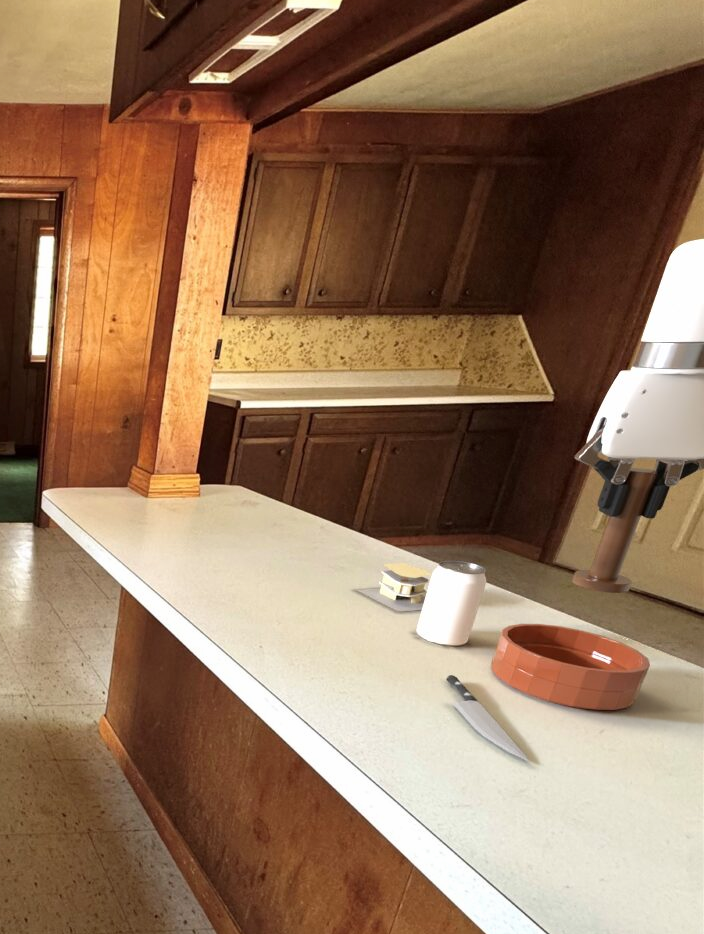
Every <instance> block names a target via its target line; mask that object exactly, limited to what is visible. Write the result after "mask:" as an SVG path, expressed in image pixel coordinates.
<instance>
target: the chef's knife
mask: <svg viewBox="0 0 704 934" xmlns="http://www.w3.org/2000/svg"><path fill="white" fill-rule="evenodd" d="M445 680H446V681H447V682H448V684H450V685H452V686H453V687H454V688H455V689H456V690H457V691H458V692H459V693H460V695H461V696H462V698H463V699H464V700H462V701H454V702H451V704H452V705H453V706H454V707H455V708H456V709H457V711H458V712H459V713H460V715H462V716H463V718H465V720H466V721H467V722H468V723H469V724H470V726H471V727H472V728H473V729H474V730H475V731H476V732H478V733H479V734H480V735H481V736H483V738H485V739H487V740H489V741H490V742H492V743H493V744H495V745H496V746H498V747H500V748H501V749H503V750H504V751H506V752H507V753H510V754H511V755H514V756H515V757H518V758H520V759H522V760H525V761H526V762H527V761H528V762H530V760H529V759H528V758H527V756H526V755H525V754H524V752H523V751H522V750H521V749H520V748H519V746H518V745H517V744H516V743H515V742H514V740H512V738H511V737H510V736H509V735H508V734H507V733H506V731H505V730H504V729H503V728H502V727H501V726H500V725H499V723H498V722H497V721H496V720H495V718H493V716H492V715H491V714H490V713H489V712H488V711H487V709H486V708H485V707H484V706H483V705H482V704H481V703H480V702H479V700H478V699H477V698H476V697H475V696H474V695H473V694H472V692H470V691H469V690H468V688H467V687H466V686H465V685H464V684H463V683H462V682H461V681H460V680H459V678H458V677H457V676H455V675H453V674H451V675H448V676H447V677H446V678H445Z"/></svg>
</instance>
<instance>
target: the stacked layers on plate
mask: <svg viewBox="0 0 704 934" xmlns="http://www.w3.org/2000/svg"><path fill="white" fill-rule="evenodd" d="M383 565H384V566H385V567H386V568H388V570H381V574H383V577H382V580H379V582H378V583H379V584H380V587H379V588H366V589H356V591H357V592H359V593H361V594H363V595H365V596H367V597H368V598H370V599H373V600H374V601H376V602H378V603H380V604H383V605H385V606H386V607H388V608H389V609H393V610H394V611H396V612H398V613H400V612H413V611H422V608H423V605H424V601H425V598H426V597H424V596H423V595H426V593H427V591H426V589H425V586H426V584H428V583H429V582H430V581H429V579H428V578H427V577H426V576H430V575H432V574H431V572H429V571H428V570H425V569H422V568H421V567H420V568H419V567H416V566H413V565H410V564H407V563H405V562H399V563H398V562H397V563H396V562H395V563H384V564H383Z"/></svg>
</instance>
